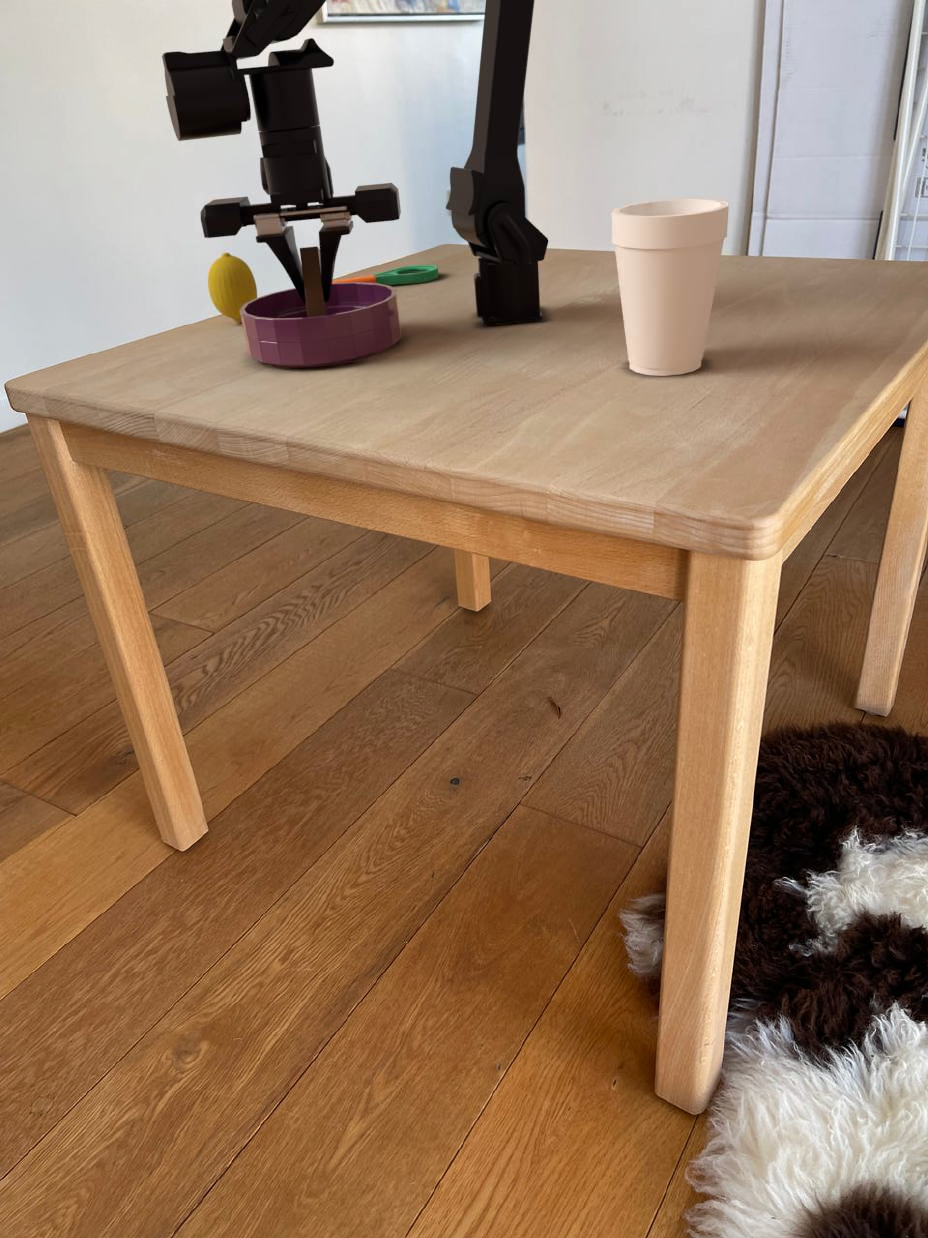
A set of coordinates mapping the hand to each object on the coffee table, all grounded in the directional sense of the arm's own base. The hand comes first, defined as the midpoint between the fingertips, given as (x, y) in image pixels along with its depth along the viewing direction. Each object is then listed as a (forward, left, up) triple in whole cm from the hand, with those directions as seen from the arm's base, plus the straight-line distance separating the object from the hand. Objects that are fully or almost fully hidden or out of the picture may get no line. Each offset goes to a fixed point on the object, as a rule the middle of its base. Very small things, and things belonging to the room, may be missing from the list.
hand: (317, 301), depth 94 cm
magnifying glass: (-5, -32, -5) cm, 33 cm away
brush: (0, +2, -4) cm, 4 cm away
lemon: (+12, -17, -5) cm, 22 cm away
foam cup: (-32, +16, -5) cm, 36 cm away
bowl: (0, -1, -5) cm, 5 cm away
